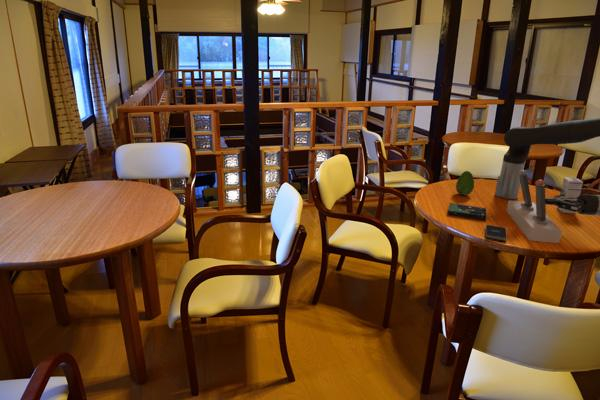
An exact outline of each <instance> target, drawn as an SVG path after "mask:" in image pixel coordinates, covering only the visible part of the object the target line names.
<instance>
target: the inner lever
mask: <svg viewBox="0 0 600 400" xmlns="http://www.w3.org/2000/svg"><path fill="white" fill-rule="evenodd" d="M519 178H520V188H521V193H522V199H523V202H524V203H525V204H526V205H527V206H528V207H531V206H532V203H533V201H532V197H531V192H530V186H529V185H530V184H529V179H528V174H527V171H526V170H525V169H523V170H520V171H519Z"/></svg>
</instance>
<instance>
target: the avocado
mask: <svg viewBox="0 0 600 400" xmlns="http://www.w3.org/2000/svg"><path fill="white" fill-rule="evenodd" d="M455 188H456V192H457V193H458V194H459V195H461V196H467V195H471V193H472V192H473V191H474V188H475V179H474V176H473V173H472V172H470V171H469V170H465V171H463V172H462V173H461V174H460V176H459V177H458V179H457V180H456V183H455Z"/></svg>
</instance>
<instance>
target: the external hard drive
mask: <svg viewBox="0 0 600 400" xmlns="http://www.w3.org/2000/svg"><path fill="white" fill-rule="evenodd" d="M484 231H485V233H484V235H485V236H484V237H485V239H486V240H490V241H495V242H500V243H501V242H502V243H507V239H508V237H507V228H506V227H503V226H497V225H491V224H486V225H485V230H484Z"/></svg>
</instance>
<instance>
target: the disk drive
mask: <svg viewBox="0 0 600 400" xmlns="http://www.w3.org/2000/svg"><path fill="white" fill-rule="evenodd" d="M447 215H448V216H450V217H457V218H463V219H470V220H478V221H484V222H486V220H487V208H485V207H481V206H480V207H479V206H473V205H466V204H459V203H451V202H449V205H448V211H447Z"/></svg>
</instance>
